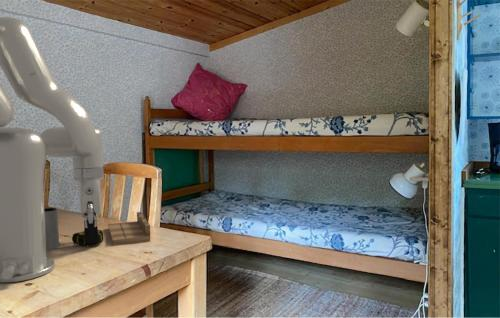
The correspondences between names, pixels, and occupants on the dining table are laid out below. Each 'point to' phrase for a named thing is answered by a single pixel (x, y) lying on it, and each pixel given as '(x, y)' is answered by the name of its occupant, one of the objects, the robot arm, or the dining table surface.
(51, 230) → the planter
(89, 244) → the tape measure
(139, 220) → the brown wooden tray
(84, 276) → the dining table surface
